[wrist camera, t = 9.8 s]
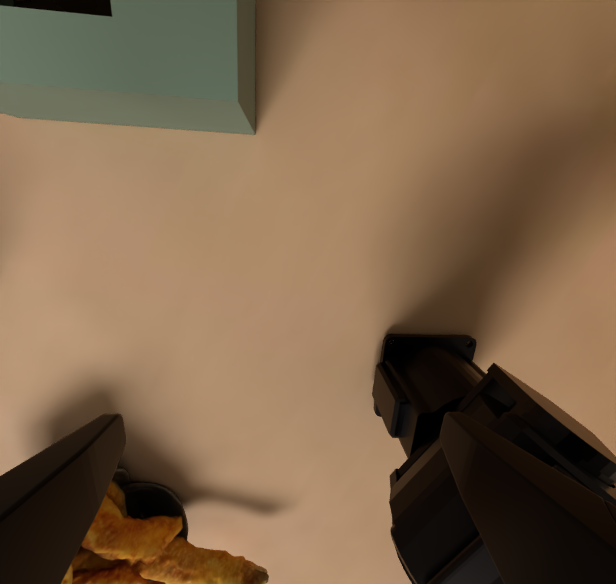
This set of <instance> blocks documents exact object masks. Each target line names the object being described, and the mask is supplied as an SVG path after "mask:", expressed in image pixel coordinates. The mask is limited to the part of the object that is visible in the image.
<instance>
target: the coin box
mask: <svg viewBox="0 0 616 584" xmlns="http://www.w3.org/2000/svg"><path fill="white" fill-rule="evenodd" d="M110 1H111V10H112V17H109V16H100V15H90V14H80V13H70V12H60V11H50V10H40V9H30V8H20V7H14V2H13V0H0V113H3V114H7V115H10V116H14V117H18V118H29V119H42V120H56V121H70V122H84V123H98V124H112V125H126V126H139V127H153V128H167V129H181V130H195V131H209V132H223V133H237V134H250V135H255V66H256V0H110Z"/></svg>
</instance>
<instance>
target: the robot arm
mask: <svg viewBox="0 0 616 584" xmlns="http://www.w3.org/2000/svg"><path fill="white" fill-rule="evenodd" d="M391 340H394V342H393V343H392V344H389V341H391ZM469 341H470V343H469V344H468V345H466V343H467V342H469ZM475 348H476V340H475V339H474V338H472V337H471V336H468V335H415V334H389V335H387V336H386V337H385V338H384V340H383V346H382V353H381V360H380V363H378V364H377V365H376V371H375V378H374V385H373V392H372V396H373V398H374V400H375V402H374V411H375V413H376V415H377V416H380V417H382V419H383V421H384V423H385V426H386V428H387V430H388V433H389V434H390V435H391V437H392V438H399V440H400V443H401V445H402V447H403V449H404V451H405V453H406V456H407V458H408V459H407V460H406V462H405V463H404V464H403V465H402V466H401V467H400V468H399V469H395V470H394V471H393V473H392V474H391V475H390V487H391V492H390V501H389V503H390V508H391V513H392V524H393V526H392V527H391V530H390V531H391V537H392V540H393V542H394V545H395V548H396V551H397V555H398V558H399V560H400V562H401V564H402V566H403V569H404V570H405V572H406V574H407V576H408V577H409V579H410V581H411V582H412V584H616V456H615V455H614V454H613V453H612V452H611V451H610V450H609V449H608V448H607V447H606V446H605V445H604V444H603V443H602V442H601V441H600V440H599V439H598V438H597V437H596V436H595V435H594V434H593V433H592V432H591V431H589V430H588V429H587V428H585V427H584V426H583V425H582V424H580V423H579V422H578V421H576V420H575V419H574V418H572V417H571V416H570V415H569V414H567V413H566V412H565V411H563V410H562V409H561V408H559V407H558V406H557V405H555V404H554V403H553V402H551V401H550V400H549V399H547V398H546V397H544V396H543V395H541V394H540V393H538V392H537V391H535V390H534V389H532V388H531V387H529V386H528V385H526V384H525V383H523V382H522V381H520V380H519V379H517V378H516V377H514V376H513V375H511V374H510V373H509V372H507V371H506V370H504V369H503V368H501V367H500V366H498V365H497V364H495V363H493V364H492V365H491V366H490V367H489V369H488V370H487V371H488V373H487V374H486V373H485V372H483V371H482V370H481V369H480V368H479V367H478V366H477V365H476V364H475V363H474V362H473V361H472V360H473V356H474V352H475ZM125 444H126V435H125V429H124V422H123V417H122V415H121V414H103V415H101V416H99V417H98V418H96V419H94V420H93V421H91V422H89V423H88V424H86V425H84V426H83V427H81V428H79V429H78V430H76V431H74V432H73V433H71V434H69V435H68V436H66V437H65V438H63V439H61V440H60V441H58V442H56V443H55V444H53V445H51V446H50V447H48V448H46V449H45V450H43V451H41V452H40V453H38V454H36V455H35V456H33V457H31V458H30V459H28V460H26V461H25V462H23V463H21V464H20V465H18V466H16V467H15V468H13V469H11V470H10V471H8V472H6V473H5V474H3V475H1V476H0V584H61V583H62V581H63V579H64V577H65V575H66V573H67V571H68V569H69V567H70V565H71V563H72V561H73V560H74V558H75V556H76V554H77V552H78V550H79V548H80V546H81V544H82V542H83V540H84V538H85V536H86V534H87V533H88V531H89V529H90V527H91V525H92V523H93V521H94V519H95V517H96V515H97V513H98V511H99V509H100V507H101V504H102V502H103V500H104V497H105V495H106V492H107V490H108V487H109V485H110V483H111V480H112V478H113V475H114V473H115V470H116V468H117V465H118V463H119V460H120V458H121V455H122V453H123V450H124V448H125Z"/></svg>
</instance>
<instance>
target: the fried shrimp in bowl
mask: <svg viewBox="0 0 616 584" xmlns="http://www.w3.org/2000/svg"><path fill="white" fill-rule="evenodd" d="M187 535H188V523H187V518H186V515H185V511H184V509H183V506H182V503H181V502H180V501H179V499H178V497H177V496H176V495H175V494H174V493H173V492H172V491H171V490H169V489H167V488H165V487H163V486H161V485H159V484H153V483H130V479H129V475H128V472H127V471H126V470H125V469H123V468H120V467H117V468H116V470H115V473H114V475H113V478H112V480H111V483H110V485H109V487H108V490H107V492H106V495H105V497H104V500H103V502H102V504H101V507H100V509H99V511H98V513H97V515H96V517H95V519H94V521H93V523H92V525H91V527H90V529H89V531H88V533H87V534H86V536H85V538H84V540H83V542H82V544H81V546H80V548H79V550H78V552H77V554H76V556H75V558H74V560H73V561H72V563H71V565H70V567H69V569H68V571H67V573H66V575H65V577H64V579H63V581H62V583H61V584H266V583H267V582H268V578H269V576H268V574H267V570H266V569H265V568H263V567H261V566H257V565H256V564H254V563H253V562H251V561H248V560H245V558H244V557H243V556H236V557H235V556H232V555H230V554H229V553H228V552H227V551H221V550H210V549H204V548H198V547H195V546H194V545H192V544H191V543H189V542H188V541H187Z"/></svg>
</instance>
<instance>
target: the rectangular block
mask: <svg viewBox="0 0 616 584" xmlns="http://www.w3.org/2000/svg"><path fill="white" fill-rule="evenodd" d="M53 1H54V2H55V3H56V4H58V5H59V6H60V7H61V8H62V9H64V10H65V11H66V12H70V13H80V14H90V15H100V16H109V17H112V10H111V1H110V0H53Z"/></svg>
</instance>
